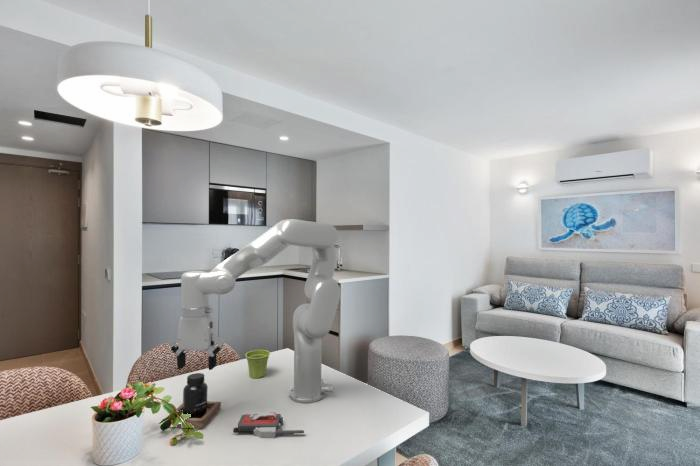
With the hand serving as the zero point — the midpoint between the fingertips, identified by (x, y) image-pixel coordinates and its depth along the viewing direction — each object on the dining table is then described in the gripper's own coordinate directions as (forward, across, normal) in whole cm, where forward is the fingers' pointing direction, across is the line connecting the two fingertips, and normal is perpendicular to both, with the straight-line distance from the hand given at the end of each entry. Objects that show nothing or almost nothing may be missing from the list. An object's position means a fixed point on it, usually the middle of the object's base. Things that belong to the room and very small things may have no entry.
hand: (196, 367), depth 107 cm
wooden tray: (+15, +1, +1) cm, 15 cm away
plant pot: (+16, -7, -32) cm, 37 cm away
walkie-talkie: (+16, -24, +4) cm, 29 cm away
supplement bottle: (+15, +1, 0) cm, 15 cm away
